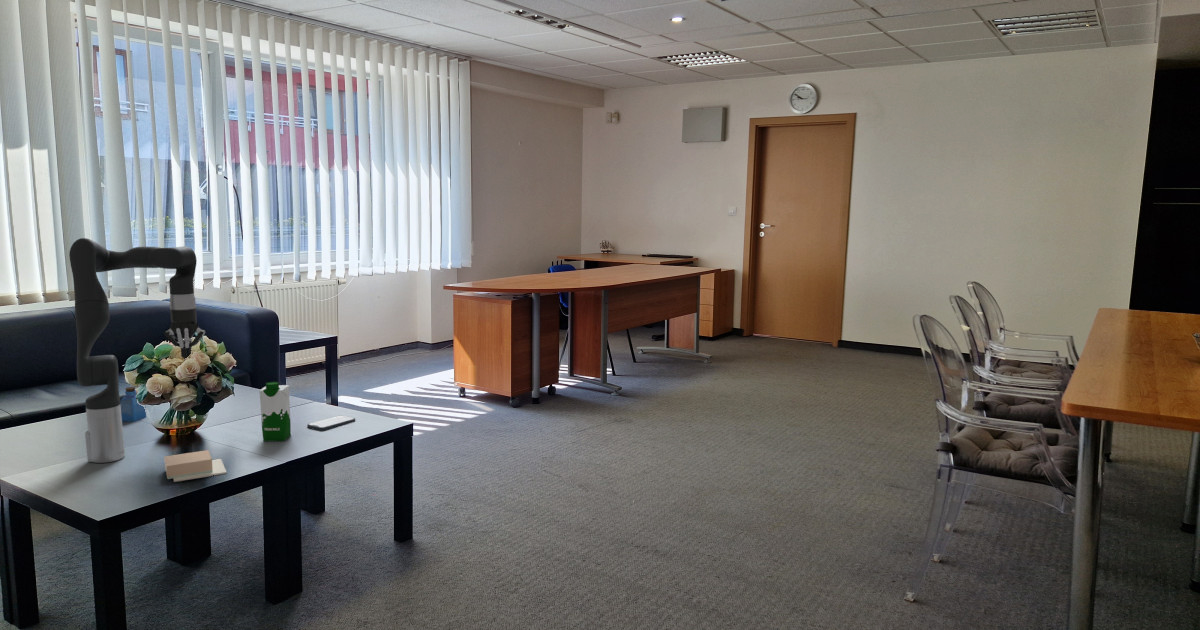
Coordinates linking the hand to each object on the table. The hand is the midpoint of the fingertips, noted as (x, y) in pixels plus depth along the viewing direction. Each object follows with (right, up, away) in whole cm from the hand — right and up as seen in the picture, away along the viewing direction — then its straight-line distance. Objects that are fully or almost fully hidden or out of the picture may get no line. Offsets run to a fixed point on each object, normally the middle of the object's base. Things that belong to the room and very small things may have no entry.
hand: (186, 358), depth 261 cm
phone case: (+39, -26, +27) cm, 54 cm away
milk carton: (+26, -28, +10) cm, 40 cm away
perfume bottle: (-37, -25, +32) cm, 55 cm away
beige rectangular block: (+9, -31, -28) cm, 43 cm away
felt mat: (+16, -33, -23) cm, 43 cm away
